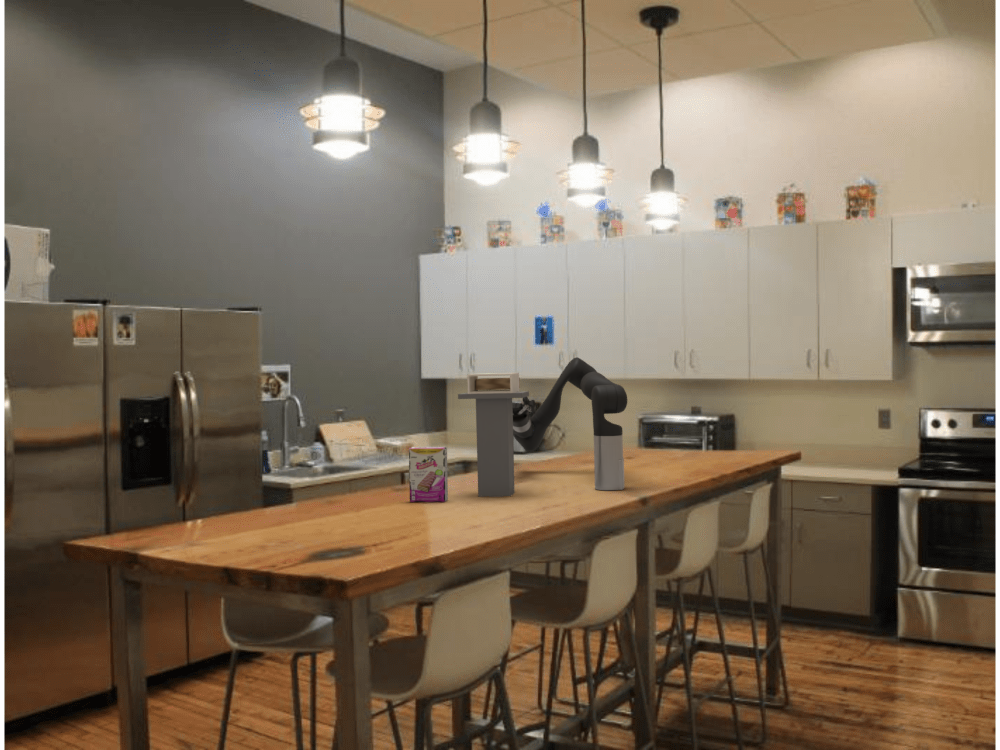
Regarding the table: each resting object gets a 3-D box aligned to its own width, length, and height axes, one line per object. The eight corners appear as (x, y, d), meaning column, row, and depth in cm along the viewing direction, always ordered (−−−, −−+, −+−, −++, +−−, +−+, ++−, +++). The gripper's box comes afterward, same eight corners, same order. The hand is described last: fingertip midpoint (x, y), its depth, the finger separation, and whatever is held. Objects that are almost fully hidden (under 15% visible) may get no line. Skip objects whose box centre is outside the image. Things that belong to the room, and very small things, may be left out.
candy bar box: (409, 502, 296) (407, 448, 296) (412, 500, 301) (411, 446, 301) (446, 502, 295) (444, 447, 295) (448, 499, 300) (447, 446, 300)
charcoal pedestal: (531, 492, 313) (529, 391, 312) (524, 497, 300) (521, 392, 300) (470, 491, 317) (467, 392, 316) (460, 497, 304) (457, 394, 304)
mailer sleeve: (519, 391, 313) (518, 372, 312) (512, 393, 301) (511, 373, 301) (476, 392, 315) (475, 373, 315) (467, 393, 304) (467, 374, 303)
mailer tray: (525, 387, 330) (525, 376, 330) (513, 389, 308) (513, 378, 308) (490, 387, 332) (490, 377, 332) (476, 390, 311) (475, 379, 311)
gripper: (500, 408, 354) (491, 388, 340) (539, 408, 351) (532, 387, 337) (499, 427, 350) (490, 407, 336) (538, 427, 347) (531, 406, 333)
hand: (511, 397), depth 337 cm, fingers open, 8 cm apart
